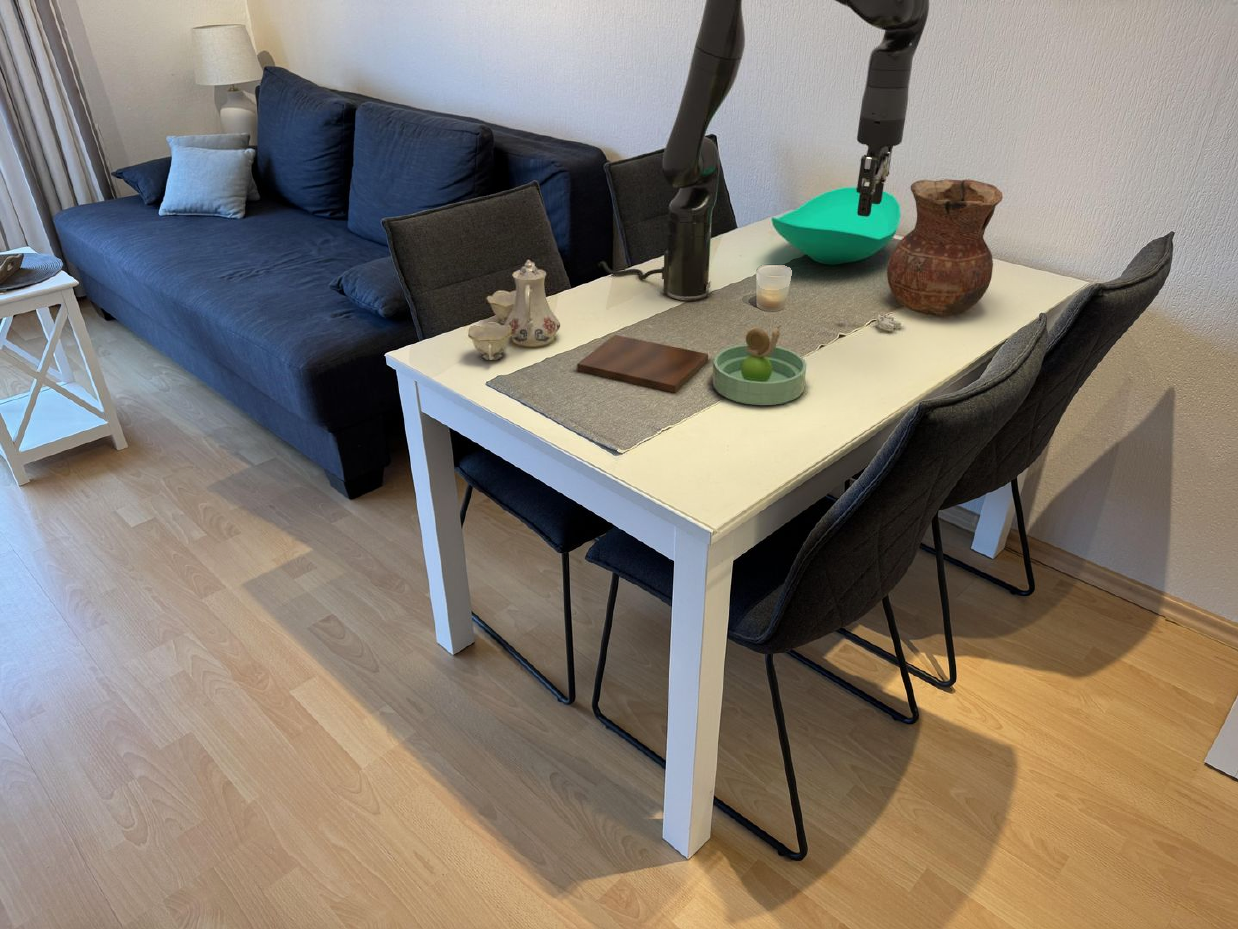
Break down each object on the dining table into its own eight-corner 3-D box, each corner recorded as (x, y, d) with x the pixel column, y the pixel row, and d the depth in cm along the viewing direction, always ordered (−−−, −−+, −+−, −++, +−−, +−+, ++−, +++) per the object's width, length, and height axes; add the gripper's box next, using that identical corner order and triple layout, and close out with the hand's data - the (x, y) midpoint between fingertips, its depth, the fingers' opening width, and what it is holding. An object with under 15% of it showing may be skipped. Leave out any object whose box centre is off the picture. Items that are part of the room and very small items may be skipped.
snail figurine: (768, 394, 154) (774, 330, 147) (735, 385, 156) (739, 322, 150) (780, 382, 157) (786, 319, 151) (748, 374, 160) (752, 312, 154)
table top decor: (847, 295, 194) (855, 236, 188) (740, 270, 209) (744, 214, 202) (916, 249, 221) (925, 196, 214) (817, 230, 236) (822, 180, 229)
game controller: (904, 331, 177) (906, 319, 176) (850, 336, 175) (852, 324, 174) (892, 321, 182) (894, 309, 180) (839, 325, 180) (841, 313, 179)
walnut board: (577, 370, 163) (576, 363, 162) (615, 341, 174) (615, 334, 173) (674, 393, 155) (675, 385, 154) (708, 360, 166) (708, 353, 165)
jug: (973, 331, 177) (1000, 207, 164) (870, 312, 186) (888, 193, 173) (992, 296, 193) (1018, 180, 180) (897, 280, 202) (915, 169, 189)
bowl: (698, 394, 154) (699, 371, 152) (732, 359, 166) (733, 337, 164) (786, 414, 148) (789, 390, 145) (815, 376, 160) (818, 354, 158)
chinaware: (488, 319, 188) (473, 243, 180) (565, 310, 188) (553, 234, 179) (471, 376, 165) (452, 292, 156) (558, 367, 164) (545, 282, 155)
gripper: (870, 105, 156) (857, 197, 164) (850, 119, 145) (838, 217, 153) (913, 108, 153) (898, 202, 161) (896, 123, 142) (881, 222, 150)
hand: (869, 209), depth 157 cm, fingers open, 8 cm apart
